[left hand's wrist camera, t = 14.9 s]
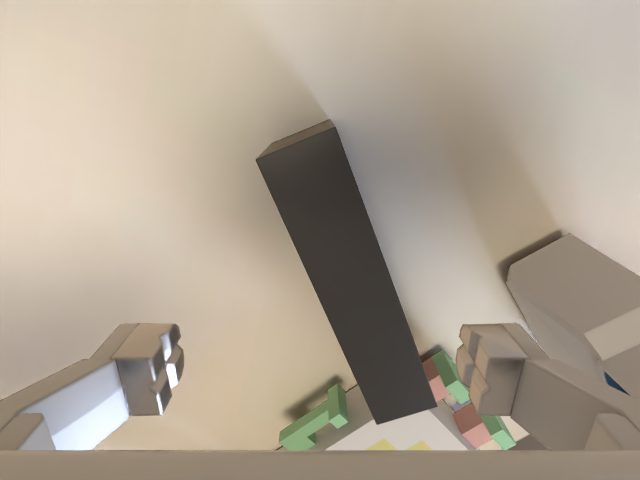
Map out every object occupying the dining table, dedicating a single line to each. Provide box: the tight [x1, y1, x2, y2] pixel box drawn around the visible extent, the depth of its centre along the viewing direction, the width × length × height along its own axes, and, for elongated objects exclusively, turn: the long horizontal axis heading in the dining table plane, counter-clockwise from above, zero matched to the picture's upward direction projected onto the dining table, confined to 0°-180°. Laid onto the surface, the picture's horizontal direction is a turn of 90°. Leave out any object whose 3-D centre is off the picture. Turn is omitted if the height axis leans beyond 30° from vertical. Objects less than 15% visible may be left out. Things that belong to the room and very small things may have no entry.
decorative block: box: [278, 350, 516, 450], centre depth 43 cm, size 26×6×20 cm
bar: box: [256, 119, 438, 425], centre depth 33 cm, size 26×6×10 cm, turn 22°
